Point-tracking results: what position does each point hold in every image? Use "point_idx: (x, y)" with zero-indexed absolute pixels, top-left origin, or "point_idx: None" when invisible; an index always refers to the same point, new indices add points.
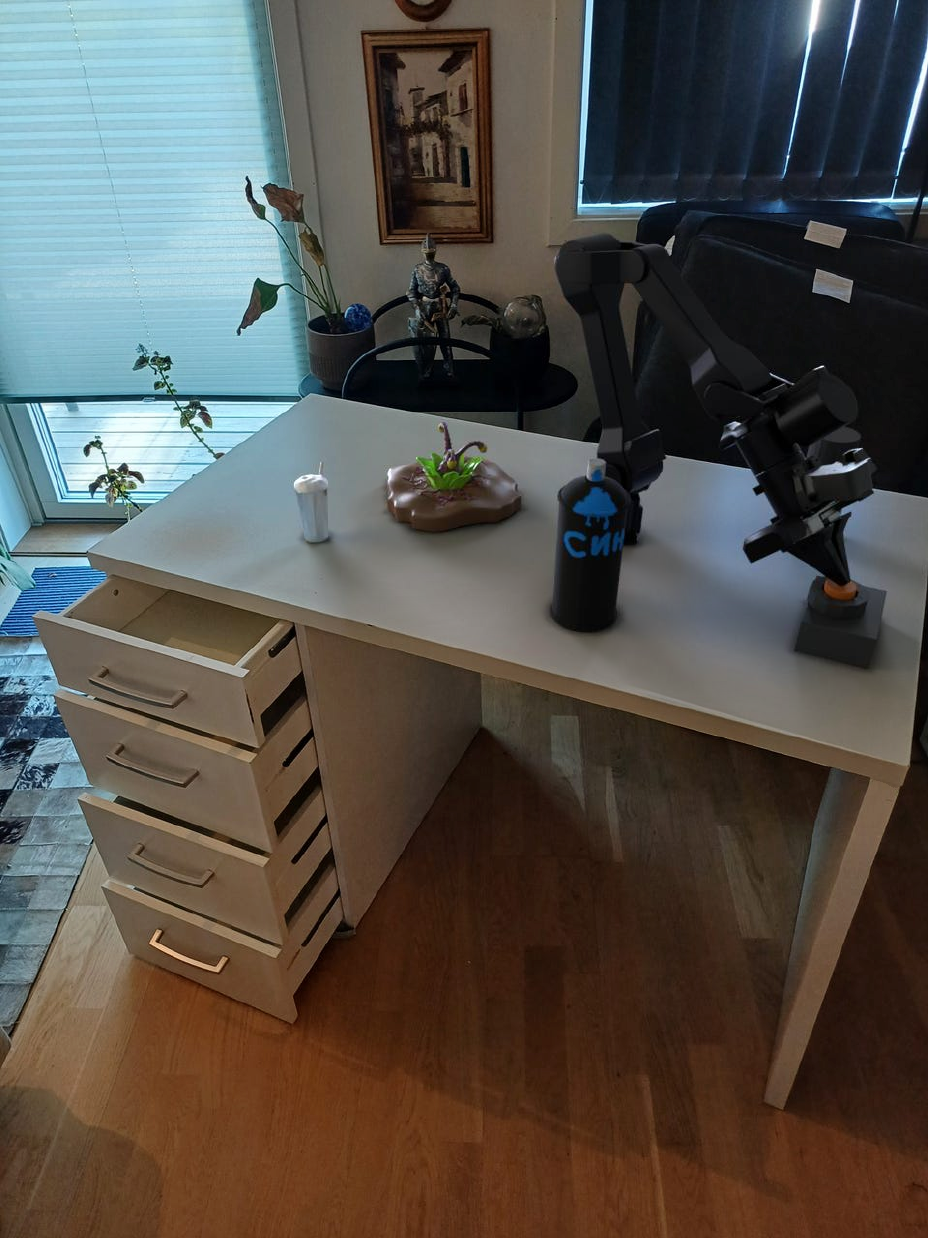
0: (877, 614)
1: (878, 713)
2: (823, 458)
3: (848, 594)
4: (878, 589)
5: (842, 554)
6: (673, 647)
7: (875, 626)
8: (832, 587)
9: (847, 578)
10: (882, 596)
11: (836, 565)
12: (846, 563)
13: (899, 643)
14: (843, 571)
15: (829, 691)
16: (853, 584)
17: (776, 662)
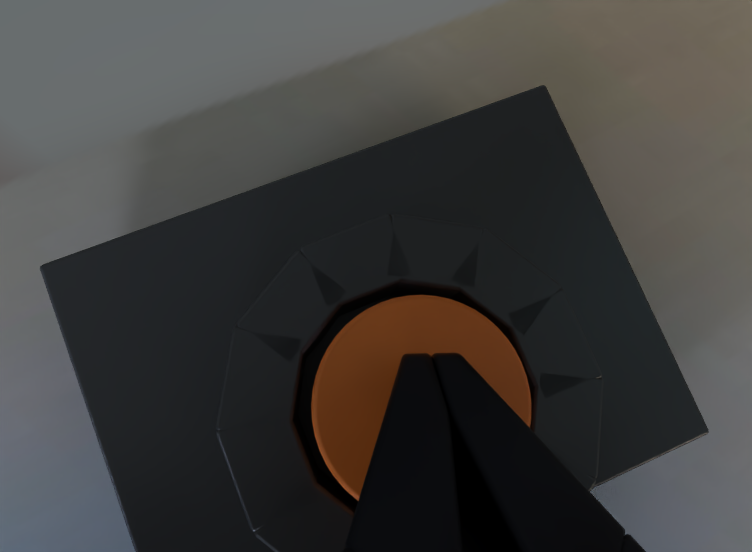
0: (331, 183)
1: (677, 21)
2: None
3: (476, 311)
4: (58, 308)
5: (428, 532)
6: None
7: (444, 140)
8: None
9: (448, 367)
10: (123, 252)
11: (573, 477)
12: (400, 448)
13: (219, 151)
14: (480, 413)
15: (710, 188)
16: (352, 346)
17: (726, 422)
